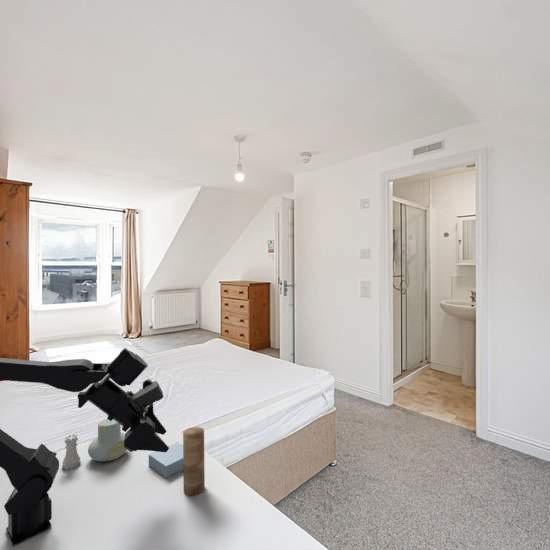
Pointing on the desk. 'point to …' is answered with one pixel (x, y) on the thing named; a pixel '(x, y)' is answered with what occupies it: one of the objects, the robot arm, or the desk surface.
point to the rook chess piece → (71, 453)
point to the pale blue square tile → (167, 460)
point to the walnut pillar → (193, 461)
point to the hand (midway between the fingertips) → (166, 441)
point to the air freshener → (107, 442)
